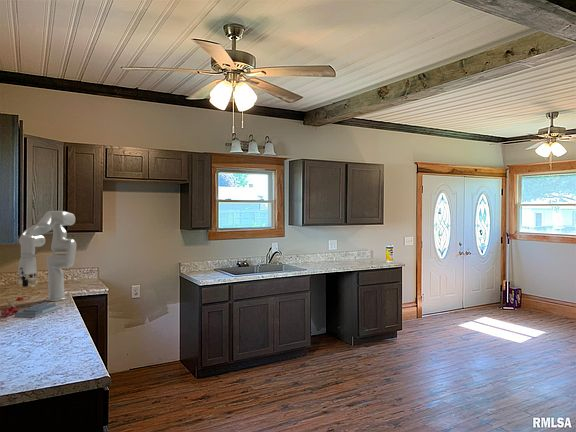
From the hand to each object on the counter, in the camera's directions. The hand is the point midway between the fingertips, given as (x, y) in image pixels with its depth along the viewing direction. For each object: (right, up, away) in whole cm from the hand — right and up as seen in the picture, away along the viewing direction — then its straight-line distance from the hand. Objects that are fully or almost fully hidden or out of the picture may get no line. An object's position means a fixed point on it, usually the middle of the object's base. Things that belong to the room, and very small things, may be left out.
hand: (28, 285), depth 265 cm
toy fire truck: (-6, -17, -5) cm, 19 cm away
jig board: (+7, -16, +1) cm, 18 cm away
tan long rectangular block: (0, 0, 0) cm, 0 cm away
